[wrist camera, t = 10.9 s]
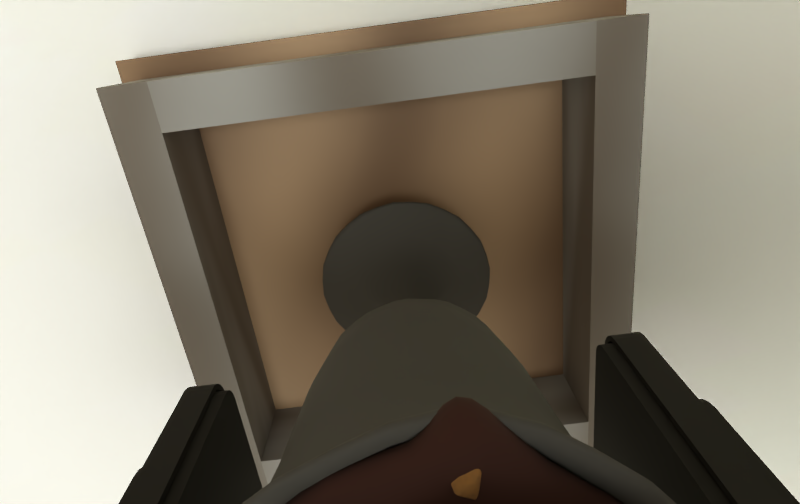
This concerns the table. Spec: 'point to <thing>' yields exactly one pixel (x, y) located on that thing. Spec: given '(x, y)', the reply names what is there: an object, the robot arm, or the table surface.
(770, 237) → the table surface
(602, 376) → the robot arm
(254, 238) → the stand
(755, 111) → the table surface
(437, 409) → the sundae
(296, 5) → the table surface
